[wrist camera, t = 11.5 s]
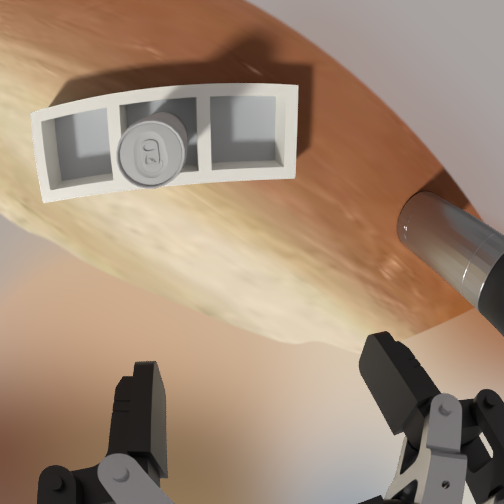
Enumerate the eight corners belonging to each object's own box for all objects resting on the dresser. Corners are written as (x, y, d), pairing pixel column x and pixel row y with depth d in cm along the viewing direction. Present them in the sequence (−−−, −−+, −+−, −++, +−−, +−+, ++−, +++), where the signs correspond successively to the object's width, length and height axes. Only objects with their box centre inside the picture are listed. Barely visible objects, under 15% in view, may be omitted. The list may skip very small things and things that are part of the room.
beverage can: (143, 161, 29) (121, 196, 19) (137, 116, 27) (108, 126, 16) (189, 153, 30) (191, 184, 20) (184, 108, 27) (183, 112, 17)
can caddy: (285, 86, 29) (298, 85, 25) (283, 169, 33) (295, 178, 30) (46, 110, 24) (30, 112, 21) (56, 191, 29) (43, 203, 25)
